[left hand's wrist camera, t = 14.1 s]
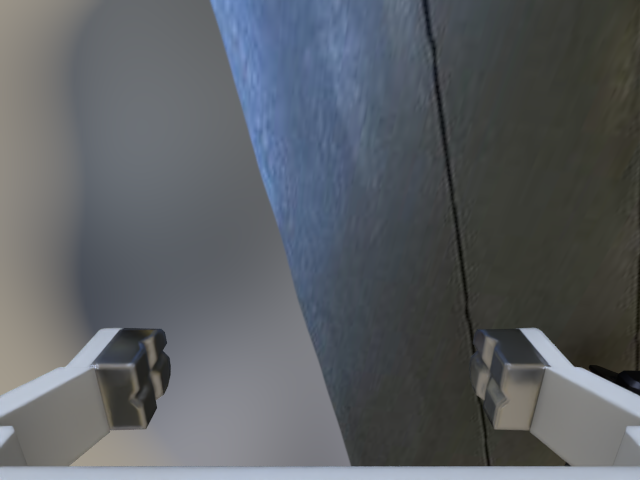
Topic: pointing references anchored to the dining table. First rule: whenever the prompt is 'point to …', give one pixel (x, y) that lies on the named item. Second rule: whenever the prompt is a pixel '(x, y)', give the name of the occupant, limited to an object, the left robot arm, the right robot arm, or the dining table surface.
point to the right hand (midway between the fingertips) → (584, 390)
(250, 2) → the dining table surface
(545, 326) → the dining table surface
